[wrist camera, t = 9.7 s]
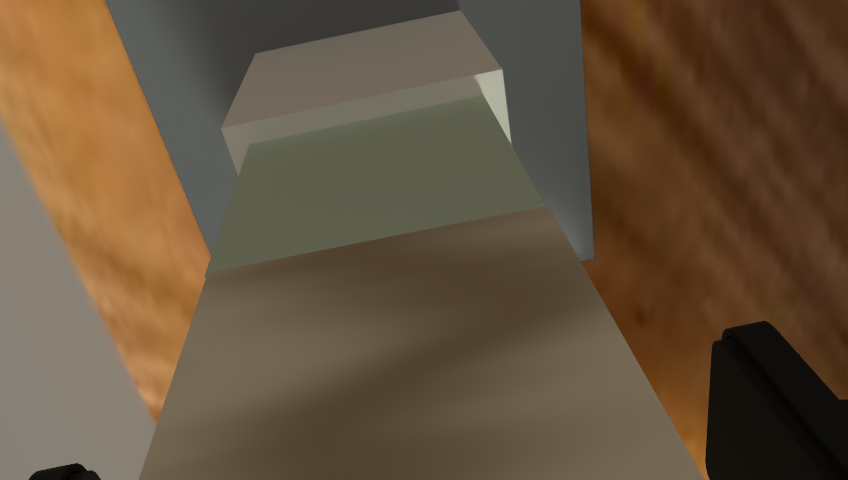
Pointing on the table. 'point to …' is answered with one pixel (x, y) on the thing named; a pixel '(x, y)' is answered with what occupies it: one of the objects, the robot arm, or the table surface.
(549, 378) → the birch cube
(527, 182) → the tower top
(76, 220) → the table surface
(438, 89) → the tower base
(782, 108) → the table surface
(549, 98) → the trivet
